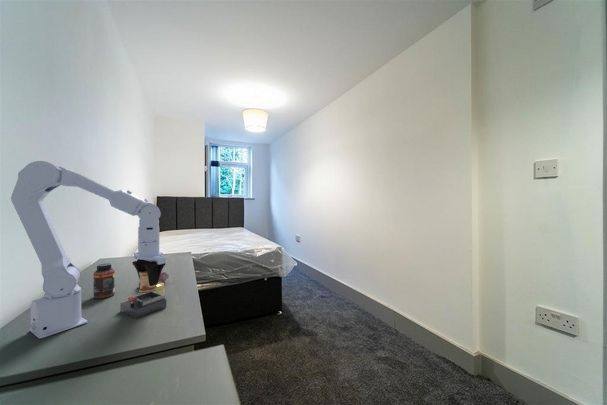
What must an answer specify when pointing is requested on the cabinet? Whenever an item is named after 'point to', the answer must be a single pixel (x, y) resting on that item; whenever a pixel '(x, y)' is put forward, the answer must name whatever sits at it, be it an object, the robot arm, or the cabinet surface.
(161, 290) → the gold short rounded piece
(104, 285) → the supplement bottle
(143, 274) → the copper flared cylinder
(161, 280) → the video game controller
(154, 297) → the gray square open box
